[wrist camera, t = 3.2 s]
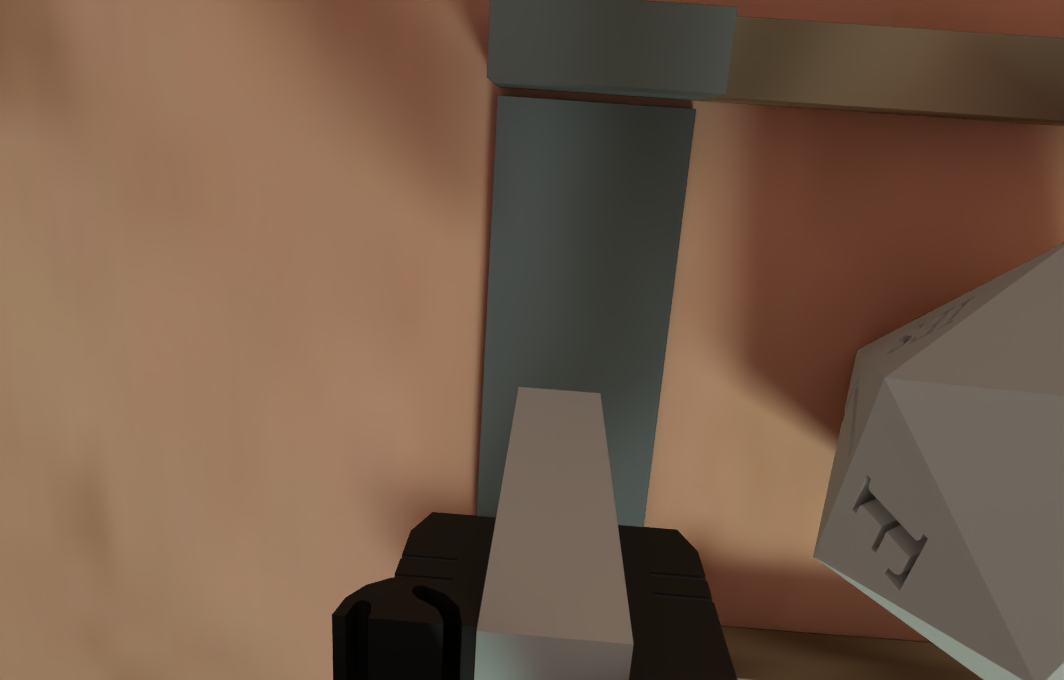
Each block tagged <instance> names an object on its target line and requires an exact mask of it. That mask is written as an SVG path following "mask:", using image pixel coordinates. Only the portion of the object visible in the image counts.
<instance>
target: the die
mask: <svg viewBox="0 0 1064 680" xmlns="http://www.w3.org/2000/svg"><path fill="white" fill-rule="evenodd" d="M844 413H845V416H844V419H843V422H842V424H841V429H840V433H839V438H838V443H837V447H836V452H835V457H834V462H833V466H832V471H831V476H830V481H829V485H828V490H827V495H826V499H825V504H824V509H823V514H822V518H821V523H820V528H819V532H818V537H817V542H816V547H815V551H814V557H815V558H816V559H818V560H819V561H820V562H822V563H823V564H825V565H826V566H827V567H829V568H830V569H831V570H833V571H834V572H836V573H837V574H838V575H840V576H841V577H843V578H844V579H845V580H847V581H848V582H849V583H851V584H852V585H854V586H855V587H856V588H858V589H859V590H860V591H862V592H863V593H865V594H866V595H867V596H869V597H870V598H871V599H873V600H874V601H876V602H877V603H878V604H880V605H881V606H883V607H884V608H885V609H887V610H888V611H889V612H891V613H892V614H894V615H895V616H896V617H898V618H899V619H900V620H902V621H903V622H905V623H906V624H907V625H909V626H910V627H911V628H913V629H914V630H916V631H917V632H918V633H920V634H921V635H923V636H924V637H925V638H927V639H928V640H929V641H931V642H932V643H934V644H935V645H936V646H938V647H939V648H940V649H942V650H943V651H945V652H946V653H947V654H949V655H950V656H951V657H953V658H954V659H956V660H957V661H958V662H960V663H961V664H963V665H964V666H965V667H967V668H968V669H969V670H971V671H972V672H974V673H975V674H976V675H978V676H979V677H980V678H982V679H983V680H1064V242H1063V243H1061V244H1060V245H1058V246H1056V247H1054V248H1052V249H1050V250H1048V251H1046V252H1044V253H1042V254H1040V255H1038V256H1036V257H1035V258H1033V259H1031V260H1029V261H1027V262H1025V263H1023V264H1021V265H1019V266H1017V267H1015V268H1013V269H1011V270H1010V271H1008V272H1006V273H1004V274H1002V275H1000V276H998V277H996V278H994V279H992V280H990V281H988V282H987V283H985V284H983V285H981V286H979V287H977V288H975V289H973V290H971V291H969V292H967V293H965V294H963V295H962V296H960V297H958V298H956V299H954V300H952V301H950V302H948V303H946V304H944V305H942V306H940V307H938V308H937V309H935V310H933V311H931V312H929V313H927V314H925V315H923V316H921V317H919V318H917V319H915V320H913V321H912V322H910V323H908V324H906V325H904V326H902V327H900V328H898V329H896V330H894V331H892V332H890V333H888V334H887V335H885V336H883V337H881V338H879V339H877V340H875V341H873V342H871V343H869V344H867V345H865V346H864V347H862V348H860V349H858V350H857V353H856V358H855V363H854V367H853V372H852V377H851V381H850V386H849V391H848V396H847V400H846V405H845V410H844Z"/></svg>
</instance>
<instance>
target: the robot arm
mask: <svg viewBox="0 0 1064 680" xmlns="http://www.w3.org/2000/svg"><path fill="white" fill-rule="evenodd" d="M332 635H333V680H737V676H736V673H735V670H734V667H733V663H732V660H731V657H730V654H729V651H728V647H727V644H726V641H725V638H724V634H723V631H722V628H721V625H720V622H719V618H718V615H717V612H716V609H715V605H714V603H713V602H712V596H711V593H710V589H709V586H708V583H707V581H705V573H704V570H703V567H702V564H701V560H700V557H699V554H698V551H697V550H696V549H695V548H694V547H693V546H692V545H691V544H690V543H689V542H688V541H687V540H686V539H685V538H684V537H683V536H682V535H681V534H680V532H679V531H678V530H674V529H662V528H650V527H638V526H625V525H618V523H617V516H616V508H615V501H614V493H613V485H612V478H611V470H610V463H609V455H608V448H607V440H606V432H605V425H604V417H603V410H602V402H601V395H600V393H591V392H578V391H566V390H553V389H540V388H527V387H519V388H518V394H517V400H516V406H515V412H514V417H513V423H512V429H511V435H510V441H509V446H508V452H507V458H506V464H505V469H504V475H503V481H502V487H501V493H500V498H499V504H498V510H497V516H496V517H485V516H472V515H460V514H448V513H436V512H432V513H431V514H430V515H429V516H428V517H426V518H425V519H424V520H423V521H422V522H421V523H419V524H418V525H417V526H416V527H415V528H414V529H412V530H411V532H410V535H409V537H408V540H407V543H406V545H405V548H404V551H403V553H402V559H400V561H399V564H398V567H397V569H396V572H395V578H389V579H385V580H382V581H378V582H375V583H371V584H368V585H365V586H364V587H362V588H361V589H359V590H357V591H356V592H354V593H352V594H351V595H349V596H347V597H346V598H345V599H344V600H343V602H342V603H341V604H340V605H339V607H338V608H337V609H336V610H335V612H334V613H333V614H332Z"/></svg>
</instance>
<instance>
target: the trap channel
mask: <svg viewBox="0 0 1064 680" xmlns="http://www.w3.org/2000/svg"><path fill="white" fill-rule="evenodd" d="M736 14H737V7H732V6H717V5H703V4H688V3H673V2H658V1H644V0H490V18H489V40H488V62H487V78H488V79H490V80H491V81H492V82H493V83H495V84H496V85H497V86H499V87H510V88H525V89H539V90H553V91H568V92H582V93H597V94H611V95H626V96H640V97H655V98H669V99H684V100H698V101H713V102H727V103H741V104H756V105H770V106H785V107H799V108H814V109H828V110H843V111H857V112H872V113H886V114H900V115H915V116H929V117H944V118H958V119H973V120H987V121H1002V122H1016V123H1031V124H1045V125H1060V126H1064V38H1051V37H1037V36H1022V35H1007V34H992V33H978V32H963V31H948V30H933V29H919V28H904V27H889V26H874V25H860V24H845V23H830V22H815V21H801V20H786V19H771V18H756V17H742V16H736ZM695 113H696V109H685V108H670V107H656V106H642V105H627V104H613V103H598V102H584V101H570V100H555V99H541V98H526V97H512V96H498V100H497V120H496V139H495V159H494V179H493V199H492V219H491V239H490V258H489V278H488V298H487V318H486V338H485V357H484V377H483V397H482V417H481V437H480V457H479V476H478V496H477V516H485V517H496V516H497V510H498V504H499V498H500V493H501V487H502V481H503V475H504V469H505V464H506V458H507V452H508V446H509V441H510V435H511V429H512V423H513V417H514V412H515V406H516V400H517V394H518V388H519V387H527V388H540V389H553V390H566V391H578V392H591V393H600V395H601V402H602V410H603V417H604V425H605V432H606V440H607V448H608V455H609V463H610V470H611V478H612V485H613V493H614V501H615V508H616V516H617V523H618V525H625V526H638V527H644V519H645V511H646V503H647V495H648V487H649V479H650V471H651V463H652V455H653V447H654V439H655V431H656V423H657V415H658V408H659V400H660V392H661V384H662V376H663V368H664V360H665V352H666V344H667V336H668V328H669V320H670V312H671V304H672V296H673V288H674V280H675V272H676V264H677V257H678V249H679V241H680V233H681V225H682V217H683V209H684V201H685V193H686V185H687V177H688V169H689V161H690V153H691V145H692V137H693V129H694V121H695ZM721 628H722V631H723V634H724V638H725V641H726V644H727V647H728V651H729V654H730V657H731V660H732V663H733V667H734V670H735V673H736V676H737V680H983V679H982V678H980V677H979V676H978V675H976V674H975V673H974V672H972V671H971V670H969V669H968V668H967V667H965V666H964V665H963V664H961V663H960V662H958V661H957V660H956V659H954V658H953V657H951V656H950V655H949V654H947V653H946V652H945V651H943V650H942V649H940V648H939V647H938V646H936V645H935V644H934V643H928V642H915V641H902V640H890V639H877V638H864V637H851V636H838V635H825V634H812V633H799V632H786V631H773V630H760V629H747V628H734V627H721Z"/></svg>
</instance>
